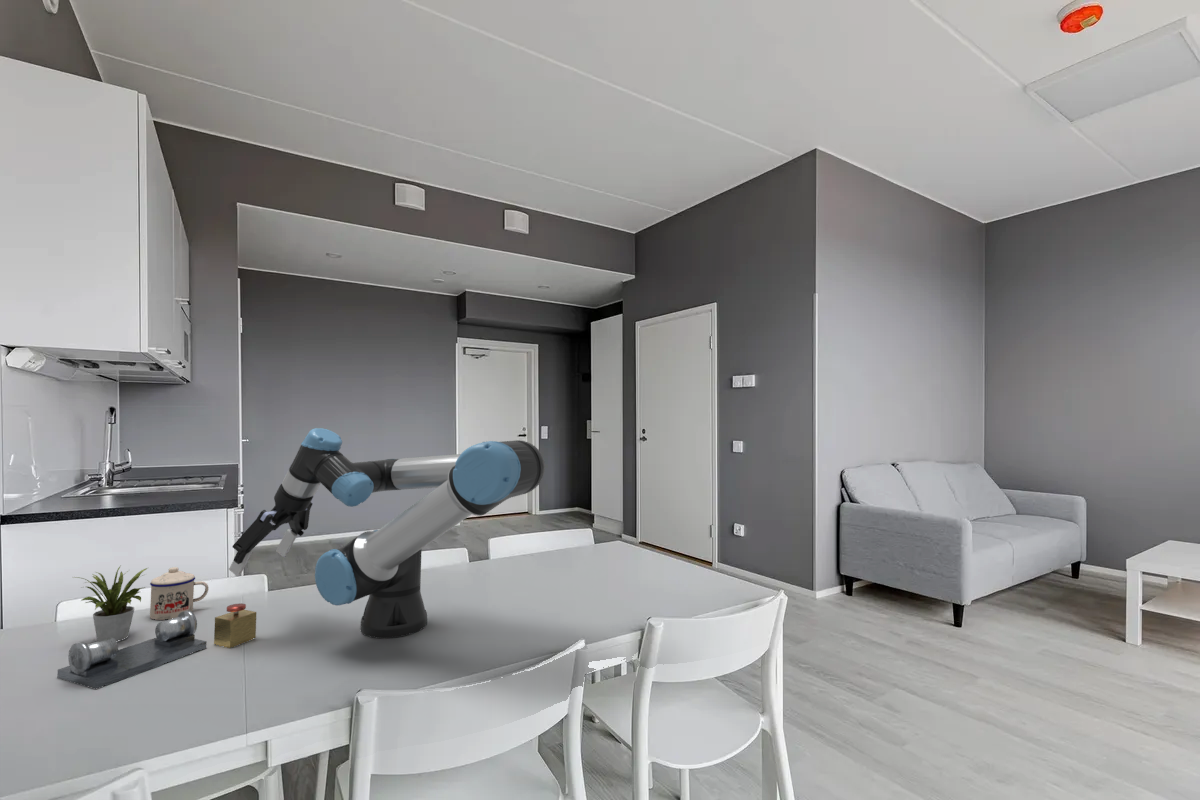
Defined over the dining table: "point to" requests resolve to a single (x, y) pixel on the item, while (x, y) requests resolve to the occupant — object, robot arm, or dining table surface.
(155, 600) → the teacup with lid
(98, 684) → the pipe run
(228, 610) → the brass valve
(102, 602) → the house plant
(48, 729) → the dining table surface
